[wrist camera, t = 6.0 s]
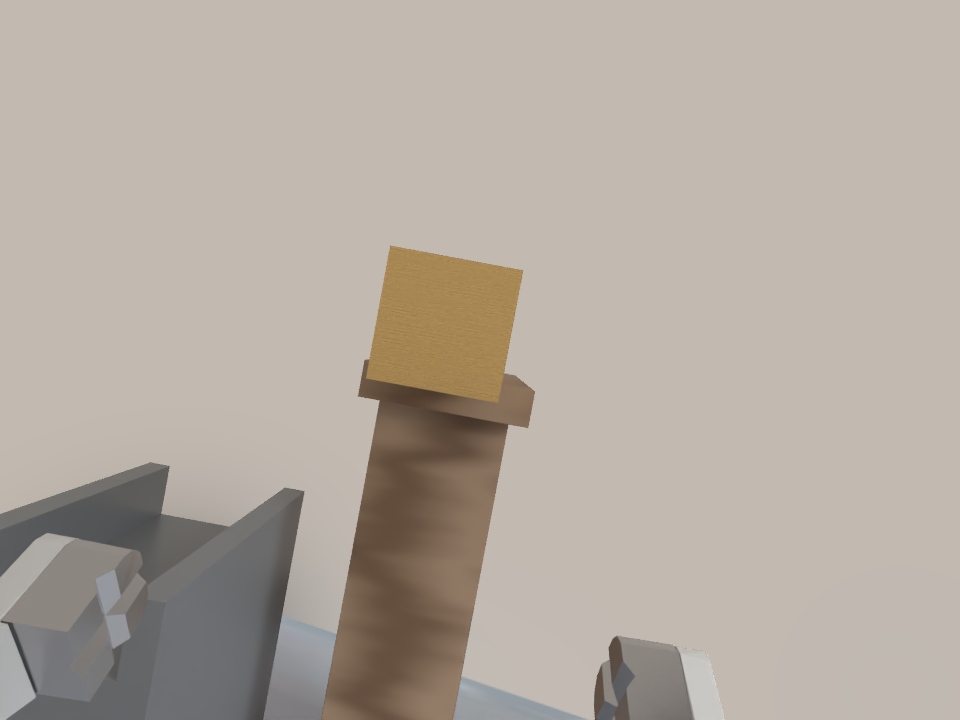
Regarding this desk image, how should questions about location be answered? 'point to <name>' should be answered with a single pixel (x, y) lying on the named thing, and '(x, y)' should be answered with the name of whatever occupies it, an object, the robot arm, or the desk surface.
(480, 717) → the desk surface
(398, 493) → the stand
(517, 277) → the wooden block
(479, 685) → the desk surface
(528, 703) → the desk surface
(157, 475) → the cradle
